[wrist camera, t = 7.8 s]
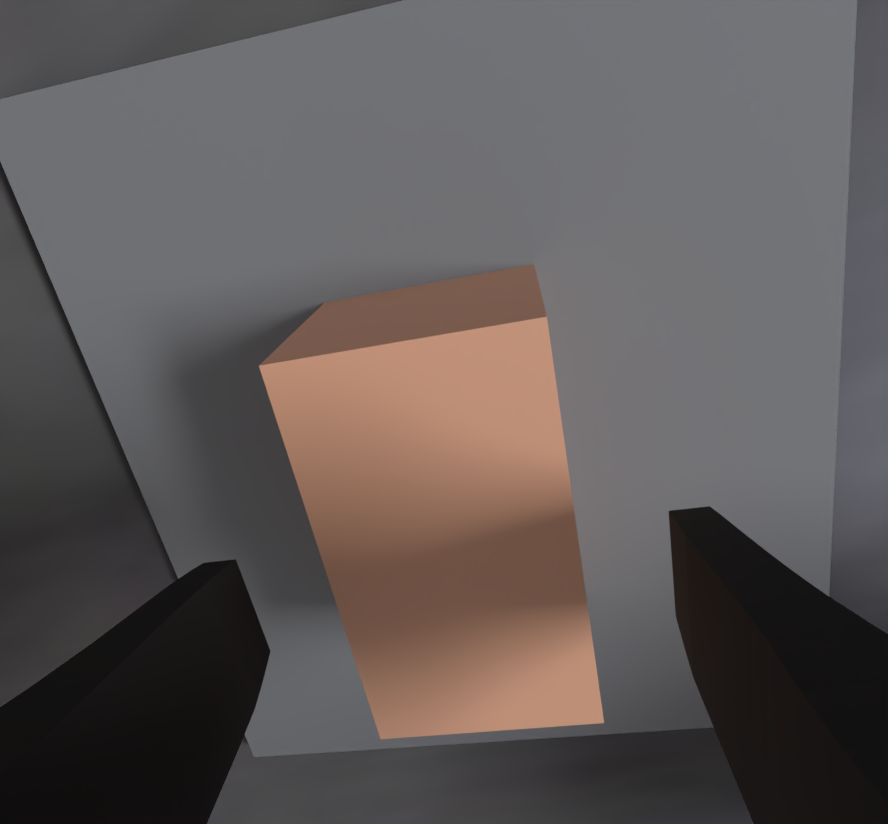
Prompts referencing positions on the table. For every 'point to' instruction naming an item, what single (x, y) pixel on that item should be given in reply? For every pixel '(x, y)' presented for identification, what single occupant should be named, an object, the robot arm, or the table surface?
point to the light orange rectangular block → (443, 502)
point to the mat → (460, 255)
